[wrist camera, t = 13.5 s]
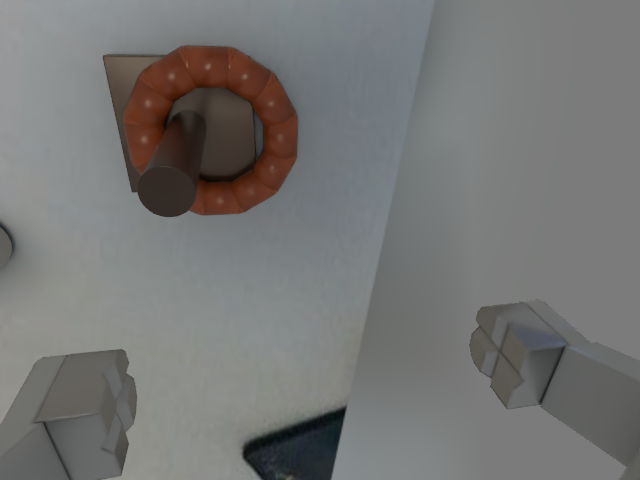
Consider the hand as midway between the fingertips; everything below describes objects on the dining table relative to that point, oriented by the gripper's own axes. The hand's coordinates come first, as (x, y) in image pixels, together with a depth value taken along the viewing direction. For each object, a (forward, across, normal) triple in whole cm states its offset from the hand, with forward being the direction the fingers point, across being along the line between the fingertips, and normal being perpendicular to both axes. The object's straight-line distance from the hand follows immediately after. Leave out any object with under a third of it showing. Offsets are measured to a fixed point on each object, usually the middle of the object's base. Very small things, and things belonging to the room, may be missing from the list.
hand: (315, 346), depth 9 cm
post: (+24, +5, 0) cm, 24 cm away
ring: (+21, +3, +1) cm, 21 cm away
